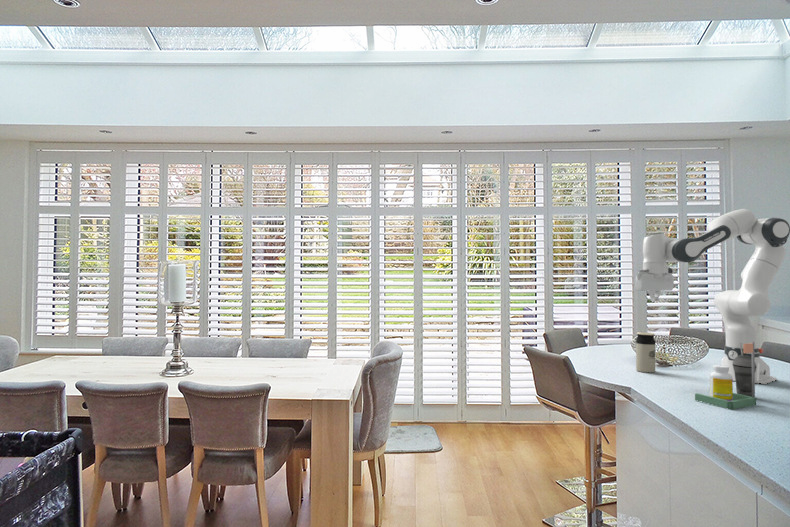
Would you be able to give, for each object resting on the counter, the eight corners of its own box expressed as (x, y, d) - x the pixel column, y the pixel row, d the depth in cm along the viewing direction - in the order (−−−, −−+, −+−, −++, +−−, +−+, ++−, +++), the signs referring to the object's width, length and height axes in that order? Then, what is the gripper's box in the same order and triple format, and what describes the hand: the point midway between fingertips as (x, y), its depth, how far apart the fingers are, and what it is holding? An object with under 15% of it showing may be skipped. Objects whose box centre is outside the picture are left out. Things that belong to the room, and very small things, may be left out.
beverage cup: (750, 400, 169) (750, 345, 169) (728, 395, 175) (728, 342, 176) (760, 397, 172) (760, 343, 172) (739, 393, 178) (738, 341, 179)
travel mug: (632, 369, 222) (632, 332, 222) (648, 369, 222) (647, 332, 223) (643, 373, 214) (643, 334, 214) (659, 373, 215) (659, 334, 215)
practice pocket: (720, 396, 173) (719, 337, 174) (756, 405, 162) (755, 342, 163) (695, 400, 167) (694, 339, 168) (730, 409, 156) (730, 344, 157)
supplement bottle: (736, 405, 162) (736, 368, 162) (715, 404, 163) (715, 367, 163) (726, 400, 168) (726, 364, 169) (706, 399, 170) (706, 363, 170)
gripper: (644, 269, 196) (644, 302, 195) (676, 269, 204) (676, 301, 204) (631, 269, 202) (631, 301, 201) (663, 269, 210) (663, 300, 209)
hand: (654, 301), depth 203 cm, fingers closed
